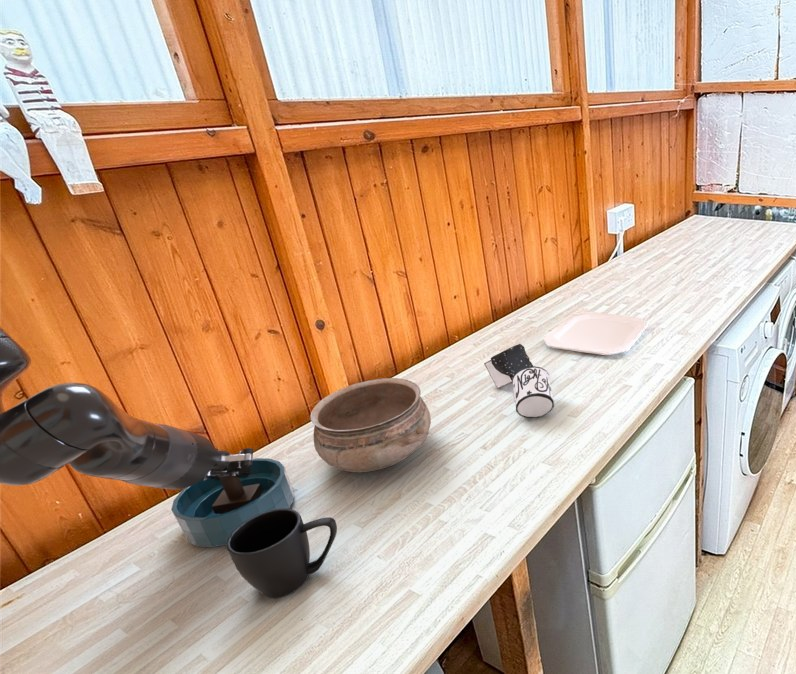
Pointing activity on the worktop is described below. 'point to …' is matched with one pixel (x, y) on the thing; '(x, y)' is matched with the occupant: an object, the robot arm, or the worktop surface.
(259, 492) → the brown stamp
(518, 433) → the worktop surface
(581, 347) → the plate
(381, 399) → the cooking pot
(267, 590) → the mug
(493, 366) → the black and white cylinder
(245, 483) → the bowl
